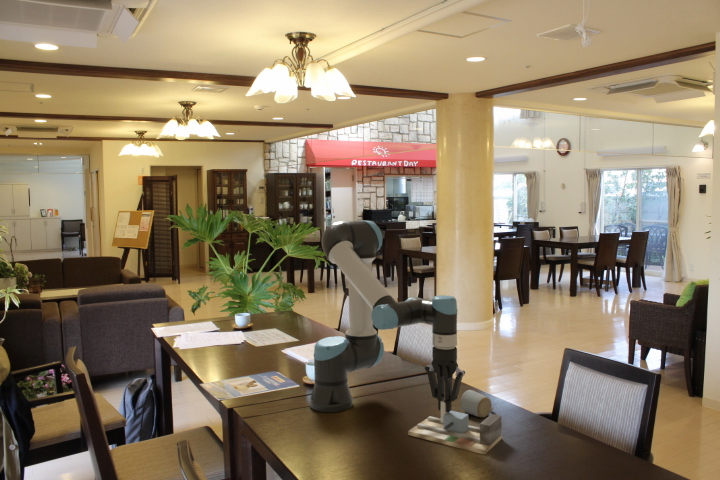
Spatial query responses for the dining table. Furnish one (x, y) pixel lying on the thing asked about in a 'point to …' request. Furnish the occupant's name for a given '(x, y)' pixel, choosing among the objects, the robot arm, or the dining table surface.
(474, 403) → the ceramic mug
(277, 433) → the dining table surface
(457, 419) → the carriage
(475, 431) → the gauge base
